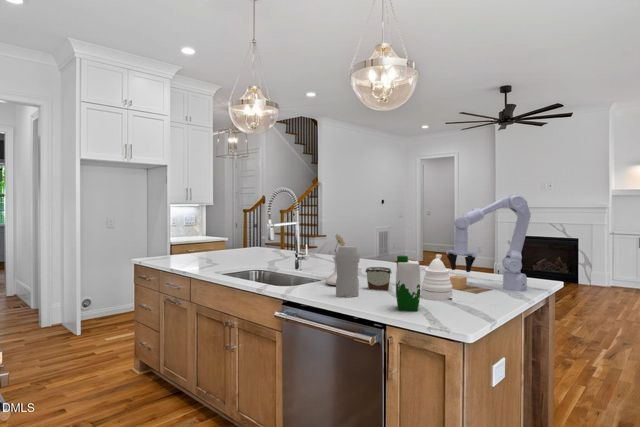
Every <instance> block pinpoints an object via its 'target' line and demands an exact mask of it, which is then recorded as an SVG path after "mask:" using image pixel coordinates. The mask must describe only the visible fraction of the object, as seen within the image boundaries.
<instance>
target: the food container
mask: <svg viewBox="0 0 640 427" xmlns="http://www.w3.org/2000/svg"><path fill="white" fill-rule="evenodd" d="M364 273H366V280H367V290H370V291H381V292H389V290H390V281H391V275H392V273H393V271H392V269H391V267H390V268H389V267H384V266H370V267H366V268H365V272H364Z"/></svg>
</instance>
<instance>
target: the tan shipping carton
mask: <svg viewBox="0 0 640 427" xmlns="http://www.w3.org/2000/svg"><path fill="white" fill-rule="evenodd" d="M449 277H450V281H451V284H452V288H454V289H465V288H467V285H468V284H467V281H468V278H467V277H466V276H462V275H452V276H451V275H450V276H449ZM454 289H453V290H454Z"/></svg>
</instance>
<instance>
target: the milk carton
mask: <svg viewBox="0 0 640 427" xmlns="http://www.w3.org/2000/svg"><path fill="white" fill-rule="evenodd" d="M420 269H421V268H420V262H419V261H418V260H411V259H410V260H409V257H408V255H397V258H396V271H395V272H396V273H395V274H396V275H395V297H396V304H397V310H398V311H402V312H403V311H405V312H419V307H420V299H421V270H420Z"/></svg>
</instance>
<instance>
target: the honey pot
mask: <svg viewBox="0 0 640 427" xmlns="http://www.w3.org/2000/svg"><path fill="white" fill-rule="evenodd" d="M442 256H443V255H442V254H435V258H434V259H432V261H431V262H429V263H430V264H429V265H428V267H426V268H425V269H424V271H425V274H424V276H423V279H422V282H421V286H420V298H422V299H425V300H430V301H437V300H440V302H442V301H444V300H445V301H452V299H453V298H452V297H453V289H452V284H451V281H450V277H451V276H449V272H450V271H449V269H448V268H446V266H445V264H444V262H443V261H442Z"/></svg>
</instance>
